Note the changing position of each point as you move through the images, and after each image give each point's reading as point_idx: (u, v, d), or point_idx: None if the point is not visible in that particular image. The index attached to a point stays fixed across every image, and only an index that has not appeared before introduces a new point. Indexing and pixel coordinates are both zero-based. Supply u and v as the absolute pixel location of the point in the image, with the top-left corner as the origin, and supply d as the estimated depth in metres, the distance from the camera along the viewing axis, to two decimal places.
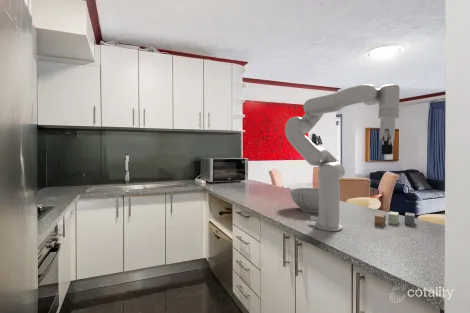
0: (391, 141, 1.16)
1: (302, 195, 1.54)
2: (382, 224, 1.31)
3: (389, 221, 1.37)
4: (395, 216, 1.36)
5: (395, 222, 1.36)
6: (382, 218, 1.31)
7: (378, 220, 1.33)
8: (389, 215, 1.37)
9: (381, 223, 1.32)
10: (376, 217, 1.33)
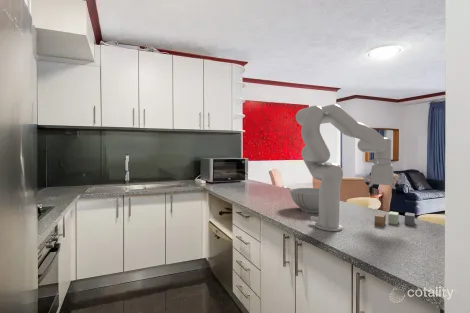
0: None
1: (302, 195, 1.54)
2: (382, 224, 1.31)
3: (389, 221, 1.37)
4: (395, 216, 1.36)
5: (395, 222, 1.36)
6: (382, 218, 1.31)
7: (378, 220, 1.33)
8: (389, 215, 1.37)
9: (381, 223, 1.32)
10: (376, 217, 1.33)
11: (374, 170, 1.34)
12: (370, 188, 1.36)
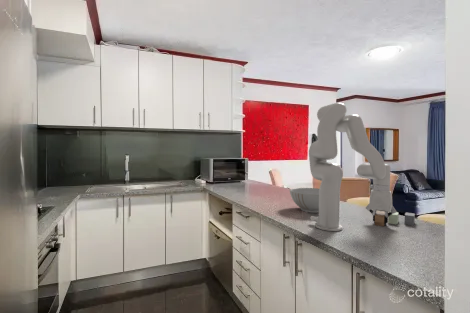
0: (376, 210, 1.37)
1: (302, 195, 1.54)
2: (382, 224, 1.32)
3: (389, 221, 1.37)
4: (395, 216, 1.36)
5: (395, 222, 1.36)
6: (382, 218, 1.32)
7: (378, 220, 1.33)
8: None
9: (381, 223, 1.32)
10: (376, 217, 1.33)
11: (372, 196, 1.35)
12: (374, 216, 1.35)
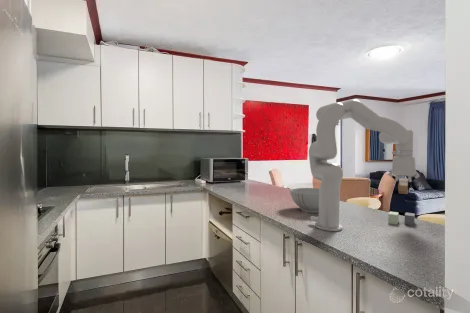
0: (398, 176, 1.38)
1: (302, 195, 1.54)
2: (406, 192, 1.34)
3: (389, 221, 1.37)
4: (395, 216, 1.36)
5: (395, 222, 1.36)
6: (406, 187, 1.33)
7: (402, 189, 1.35)
8: (389, 215, 1.37)
9: (405, 191, 1.34)
10: (400, 186, 1.35)
11: (395, 161, 1.36)
12: (397, 182, 1.37)
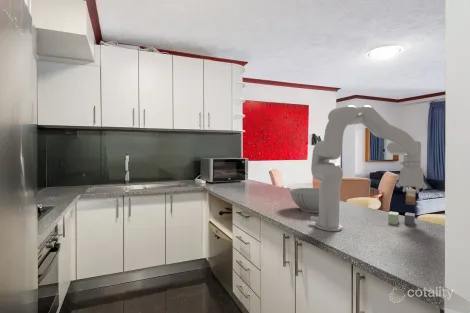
0: None
1: (302, 195, 1.54)
2: (414, 203, 1.35)
3: (389, 221, 1.37)
4: (395, 216, 1.36)
5: (395, 222, 1.36)
6: (413, 198, 1.34)
7: (409, 199, 1.35)
8: (389, 215, 1.37)
9: (413, 202, 1.35)
10: (407, 197, 1.35)
11: (403, 172, 1.37)
12: (404, 193, 1.37)
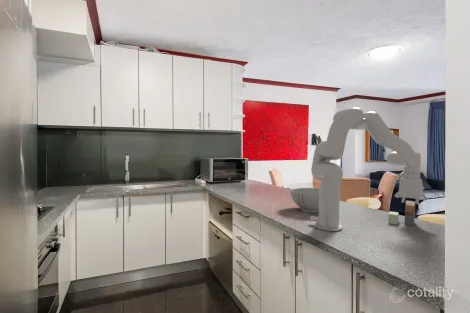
0: None
1: (302, 195, 1.54)
2: (413, 213, 1.34)
3: (389, 221, 1.37)
4: (395, 216, 1.36)
5: (395, 222, 1.36)
6: (413, 207, 1.34)
7: (409, 209, 1.35)
8: (389, 215, 1.37)
9: (412, 213, 1.35)
10: (406, 207, 1.36)
11: (403, 183, 1.37)
12: (403, 204, 1.38)
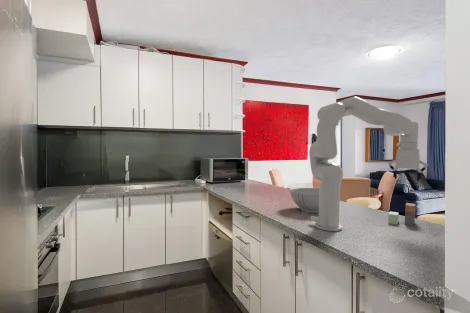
0: None
1: (302, 195, 1.54)
2: (413, 213, 1.34)
3: (389, 221, 1.37)
4: (395, 216, 1.36)
5: (395, 222, 1.36)
6: (413, 207, 1.34)
7: (409, 209, 1.35)
8: (389, 215, 1.37)
9: (412, 212, 1.34)
10: (407, 206, 1.36)
11: (399, 154, 1.35)
12: (395, 172, 1.37)
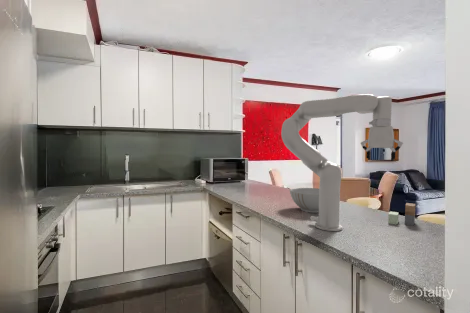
0: (371, 148, 1.26)
1: (302, 195, 1.54)
2: (413, 213, 1.34)
3: (389, 221, 1.37)
4: (395, 216, 1.36)
5: (395, 222, 1.36)
6: (413, 207, 1.34)
7: (409, 209, 1.35)
8: (389, 215, 1.37)
9: (412, 213, 1.34)
10: (407, 206, 1.36)
11: (372, 132, 1.23)
12: (368, 152, 1.25)
